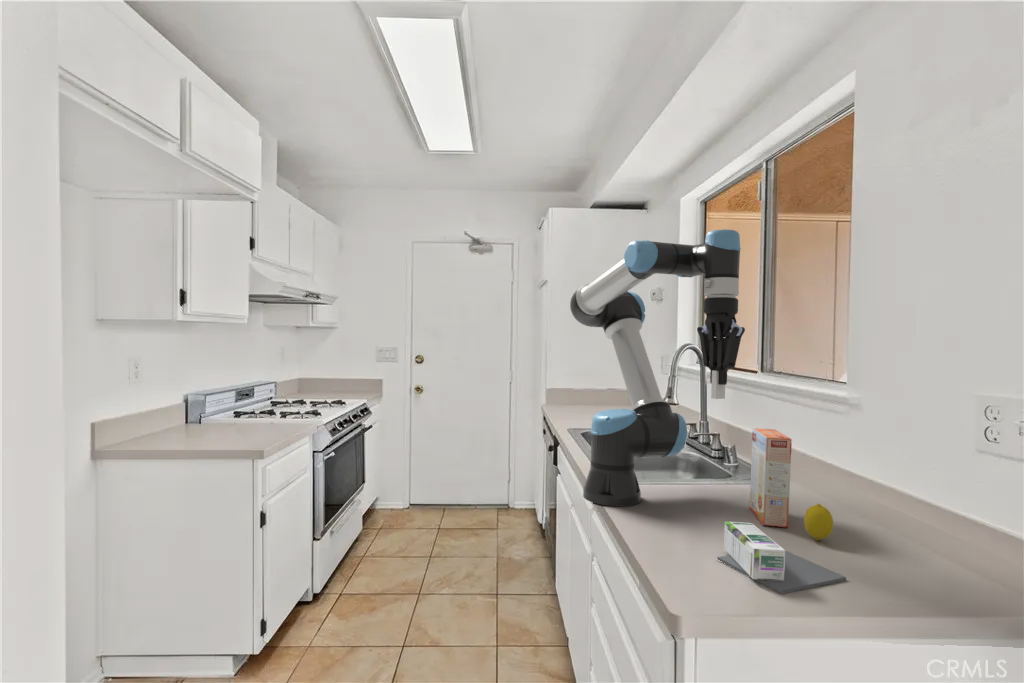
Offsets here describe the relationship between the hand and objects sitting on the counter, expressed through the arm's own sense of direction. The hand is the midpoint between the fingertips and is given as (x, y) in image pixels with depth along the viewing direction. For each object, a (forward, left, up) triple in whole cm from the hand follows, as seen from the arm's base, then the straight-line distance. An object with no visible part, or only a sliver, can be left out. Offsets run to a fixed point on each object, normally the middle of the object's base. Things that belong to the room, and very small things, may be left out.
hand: (717, 398), depth 129 cm
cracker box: (+1, +16, -30) cm, 34 cm away
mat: (+24, -7, -29) cm, 39 cm away
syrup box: (+15, -8, -26) cm, 31 cm away
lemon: (+16, +14, -30) cm, 36 cm away
